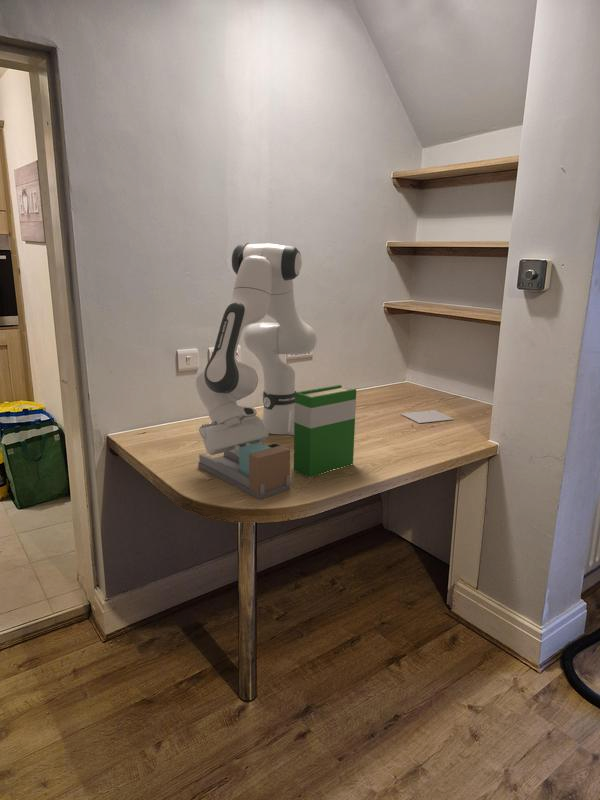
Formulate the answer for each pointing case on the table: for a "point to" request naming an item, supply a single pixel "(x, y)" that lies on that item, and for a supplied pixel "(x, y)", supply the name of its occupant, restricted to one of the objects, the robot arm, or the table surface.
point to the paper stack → (426, 416)
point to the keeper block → (244, 456)
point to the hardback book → (324, 429)
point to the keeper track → (253, 471)
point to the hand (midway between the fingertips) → (247, 459)
